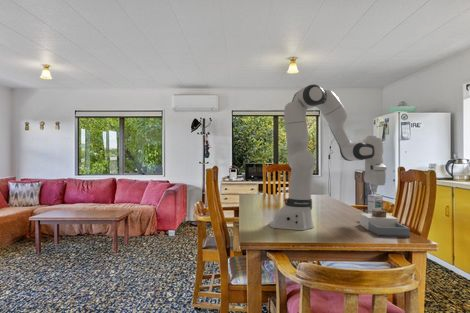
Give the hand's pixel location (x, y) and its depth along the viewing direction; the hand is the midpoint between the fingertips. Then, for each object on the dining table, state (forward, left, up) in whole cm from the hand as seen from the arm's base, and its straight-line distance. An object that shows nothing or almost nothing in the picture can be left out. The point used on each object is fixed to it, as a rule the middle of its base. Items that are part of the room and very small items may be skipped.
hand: (373, 192), depth 167 cm
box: (0, -19, -17) cm, 26 cm away
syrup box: (+6, +13, -17) cm, 22 cm away
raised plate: (0, -7, -17) cm, 19 cm away
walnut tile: (0, -8, -11) cm, 14 cm away
